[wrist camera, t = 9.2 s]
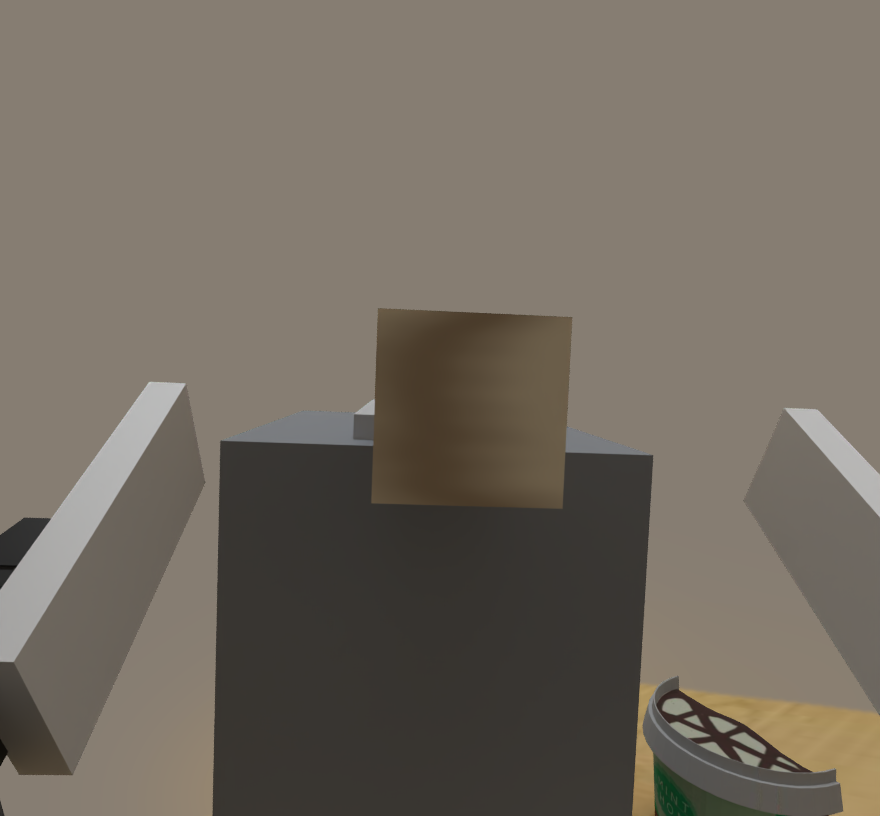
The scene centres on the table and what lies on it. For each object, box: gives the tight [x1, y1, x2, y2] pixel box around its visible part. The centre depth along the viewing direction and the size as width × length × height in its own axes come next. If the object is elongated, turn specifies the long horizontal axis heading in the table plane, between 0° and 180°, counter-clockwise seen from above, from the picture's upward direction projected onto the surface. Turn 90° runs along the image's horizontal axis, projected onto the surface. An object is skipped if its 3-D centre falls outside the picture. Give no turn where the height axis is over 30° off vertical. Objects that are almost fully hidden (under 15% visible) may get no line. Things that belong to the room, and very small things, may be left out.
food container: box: [643, 676, 843, 816], centre depth 38 cm, size 12×6×10 cm, turn 25°
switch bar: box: [371, 308, 572, 509], centre depth 26 cm, size 4×26×4 cm, turn 3°
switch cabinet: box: [213, 399, 653, 816], centre depth 33 cm, size 16×19×29 cm
